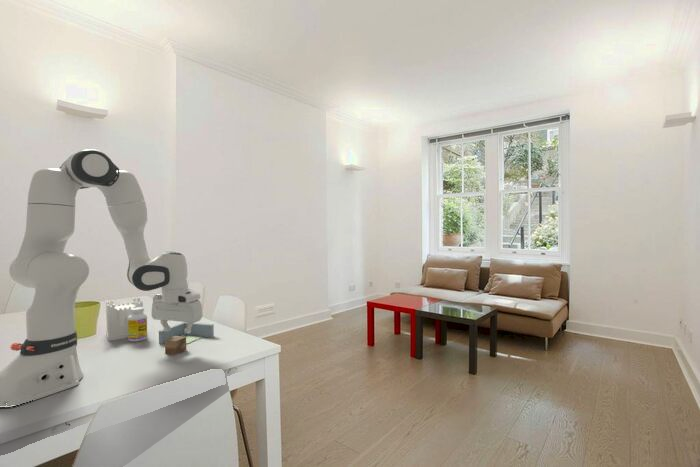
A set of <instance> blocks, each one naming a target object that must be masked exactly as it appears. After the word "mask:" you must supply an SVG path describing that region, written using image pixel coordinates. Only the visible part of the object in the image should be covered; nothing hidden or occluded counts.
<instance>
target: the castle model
mask: <svg viewBox="0 0 700 467" xmlns="http://www.w3.org/2000/svg"><path fill="white" fill-rule="evenodd" d="M136 307H143V308H144V302H143V300H141V297H140V296H137V297H136V296H134V297H132V302H131V303H130V302H126V303H125V302H124V303H122V304H120V303H117V305H116V304H115V303H114V300H113V299H110V300H105V311H106V331H105V332H106V338H107V341H108V342H109V341H115V340H116V341H117V340H121V339H127V338H128V317H129V316H130V315H131V309H132V308H136Z"/></svg>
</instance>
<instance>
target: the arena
mask: <svg viewBox="0 0 700 467" xmlns="http://www.w3.org/2000/svg"><path fill="white" fill-rule="evenodd" d="M185 328H187V325H186V322H180V323H176V324H174V325H172V326H171V325H170V331H168V332H164V328H163V329H161V330H158V344H161V345H163V344H165V340H166V339H169V338H171V337H174V336H182V337H186V345H188V344H191V343H193V342H195V341H198V340H200V339H202V338H203V337H204V338H213V337H214V336H215V331H214V328H215V325H214V324H213V323H205V322H204V323H203V322H202V323H201V322H195V323H193V325H192V327H191V333H189V334H186V333H185V331H184V329H185ZM193 335H194V336H193Z"/></svg>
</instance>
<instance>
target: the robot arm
mask: <svg viewBox="0 0 700 467" xmlns="http://www.w3.org/2000/svg"><path fill="white" fill-rule="evenodd" d="M30 181H31V182H30V184H29V190H28V194H27V203H26V204H27V207H26V223H25V232H24V236H23V239H22V242H21V245H20V248H19V250H18V252H17V253H18V254H17V256H16V258H15V259H14V260H13V261H12V262H11V263H10V265H9V268H8V269H9V271H8V272H9V276H10V278H11V279H12V280H13V281H14V282H15V283H18V284H19V285H21V286H23V287H26V288H31V289H35V290H34V296H33V299H32V303H31V305H30V307H29V308H28V309H27V311H25V312H26V313H25V323H26V324H25V325H26V326H25V328H26V329H25V330H26V338H25V340H24V342H23V343H19V342H13V343H11V345H10V347H9V349H10V350H12V351H16V352H18V351H19V354H18V355H17V356H16V357H15V358H14V359H13V360H11V361H10V363H8V364H7V365H6V366H5V367H4V368H3V369H1V371H0V406H6V405H7V406H11V405H18V404H22V403H25V404H27V403H26V402H28V403H30V402H29V401H31V402H33V401H37V400H38V399H42V398H44V397H47V396H50V395H53V394H56V393H59V392H62V391H64V390H68V389H70V388H73V387H75V386H78V385H79V383H80V380H81V379H82V378H83V377H84V372H83V371H82V369H81V365H80V363H79V362H80V361H79V357H78V352H77V345H78V333H77V330H76V325H75V324H76V321H75V319H76V318H75V317H76V316H75V315H76V314H75V310H76V308H75V307H76V301H77V297H78V294H79V291H80V288H81V287H82V285H83V284H84V283H85V282H86V281H87V279H88V277H89V275H90V266H89V265H88V262H87V261H86V260H85V259H83V257H80V256H78V255H76V254H74V253H73V254H72V253H69V252H64V251H65V248H66V245H67V243H68V241H69V239H70V238H71V237H72V236H73V234H74V233H75V227H76V226H75V223H76V222H75V221H76V197H77V193H78V192H79V190H83V189H90V188H97V189H98V190H100V191H101V193H102V194H103V196H104V198H105V202H106V206H107V208H108V212H109V215H110V217H111V219H112V222H113V223H114V225H115V227H116V229H117V230H118V232H119V233H120V236H121V237H122V239H123V243H124V245H125V249H126V253H127V258H128V267H127V273H126V277H127V280H128V281H129V283H130V284H131V285H132V286H134V288H136V289H137V290H140V291H144V292H149V291H150V292H151V291H153V290H157V289H160V288H161V294H158V293H157V294H155V295H154V296H153V298H152V304H151V318H152V319H153V320H156V321H157V320H158V321H160V324H161V326H162V327H163V329H164V332H168V331H170V327H171V325H169V324H168V321H170V322H180V323H182V322H186V325H187V328H185V329H184V331H185V333H186V334H189V333H191V327H192V325H193V323H199V322H200V321H201V320H202V318H203V306H202V302H201V300H200V299H201V294H200V293H199V292H196V291H194V290H192V289H190V288H189V283H188V280H187V279H188V265H187V259H186V257H185V255H184V254H183V253H180V252H176V251H163V252H161V254H159V255H157V256H156V257H154V258H152V259H151V258H150V257H149V253H148V250H147V246H146V241H145V236H144V232H145V229H146V228H145V227H146V225H147V222H148V210H147V209H148V208H147V203H146V200H145V197H144V194H143V190H142V189H141V186H140V184H139V181H138V179H137V178H136V176H135V175H134V174H133V173H131V172H130V171H126V170H120V168H119V167H118V166H117V165H116V164H115V163H114V162H113V161H112V160H111V158H110V157H109V156H108V155H107V154H105V153H104V152H102V151H101V150H98V149H93V148H92V149H82V150H80V151H78V152H75V153H73V154H71V155H70V156H69V157H68V158H67V159H66V160H65V161H64V162H62V164H61V165H60V167H59V168H50V167H49V168H41V169H38V170H36V171H35V172H34V173H33V175H32V177H31V180H30ZM32 400H33V401H32ZM6 403H7V404H6ZM22 405H23V404H22Z"/></svg>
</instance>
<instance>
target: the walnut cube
mask: <svg viewBox="0 0 700 467" xmlns="http://www.w3.org/2000/svg"><path fill="white" fill-rule="evenodd" d="M185 351H187V344H186V337H183V336H174V337H171V338H169V339H166V340H165V343H164V354H166V355H175V356H176V355H179V354H180V353H183V352H185Z"/></svg>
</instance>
